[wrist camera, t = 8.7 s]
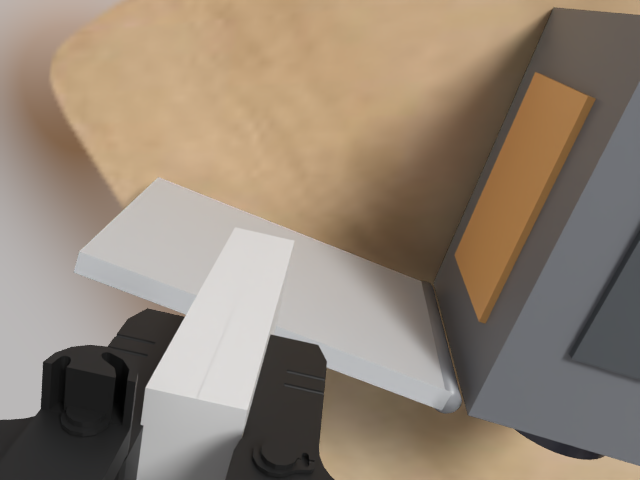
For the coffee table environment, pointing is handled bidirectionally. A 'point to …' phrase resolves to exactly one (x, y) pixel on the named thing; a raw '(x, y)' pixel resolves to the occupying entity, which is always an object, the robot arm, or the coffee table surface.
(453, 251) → the panel
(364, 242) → the coffee table surface
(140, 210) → the door
